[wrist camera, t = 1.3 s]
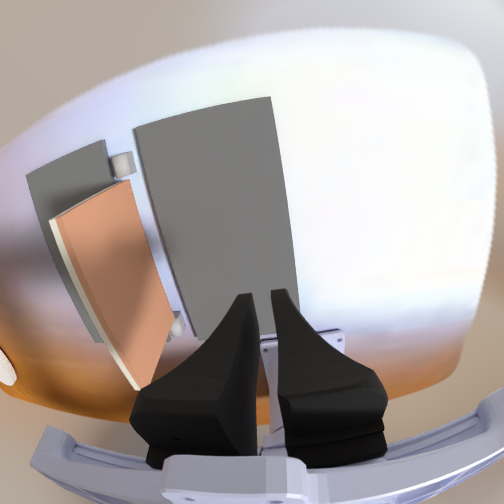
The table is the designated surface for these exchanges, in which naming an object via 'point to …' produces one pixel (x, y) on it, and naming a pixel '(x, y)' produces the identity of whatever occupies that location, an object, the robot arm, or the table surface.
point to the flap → (117, 278)
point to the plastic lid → (6, 370)
